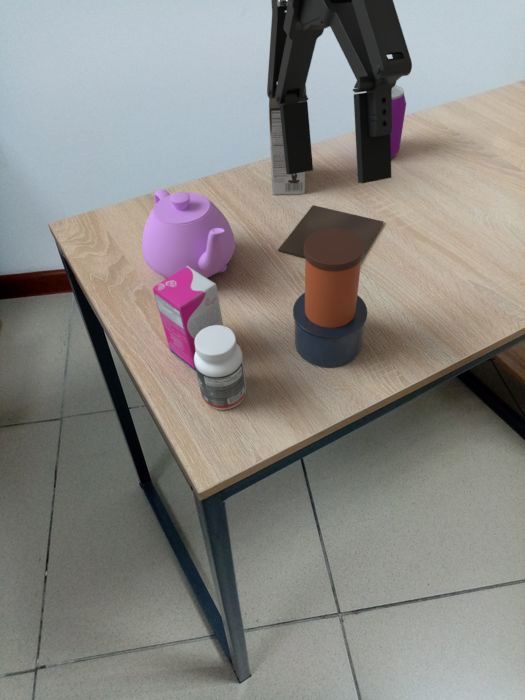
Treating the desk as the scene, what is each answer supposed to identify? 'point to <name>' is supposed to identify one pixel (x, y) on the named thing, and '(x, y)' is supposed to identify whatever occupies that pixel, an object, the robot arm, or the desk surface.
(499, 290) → the desk surface
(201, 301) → the supplement box
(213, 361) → the pill bottle
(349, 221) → the plate
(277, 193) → the coffee box
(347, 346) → the tin
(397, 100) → the beverage can
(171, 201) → the teapot
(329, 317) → the canister
